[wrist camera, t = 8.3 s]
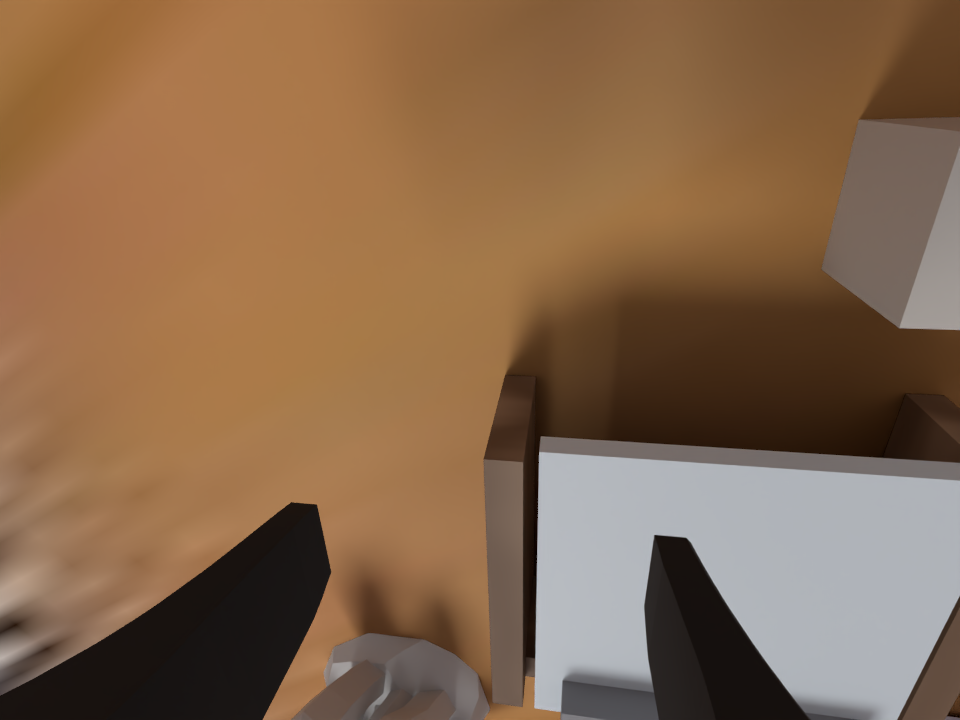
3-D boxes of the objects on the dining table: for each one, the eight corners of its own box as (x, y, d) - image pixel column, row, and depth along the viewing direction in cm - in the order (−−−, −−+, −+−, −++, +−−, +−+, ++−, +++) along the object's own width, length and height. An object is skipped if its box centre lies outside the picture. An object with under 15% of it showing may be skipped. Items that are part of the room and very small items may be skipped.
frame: (943, 395, 19) (1069, 501, 14) (851, 628, 24) (919, 763, 19) (505, 375, 21) (483, 459, 17) (508, 591, 27) (492, 702, 22)
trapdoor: (994, 465, 14) (1052, 517, 13) (867, 733, 20) (895, 796, 18) (540, 436, 16) (536, 478, 15) (536, 687, 22) (532, 741, 20)
